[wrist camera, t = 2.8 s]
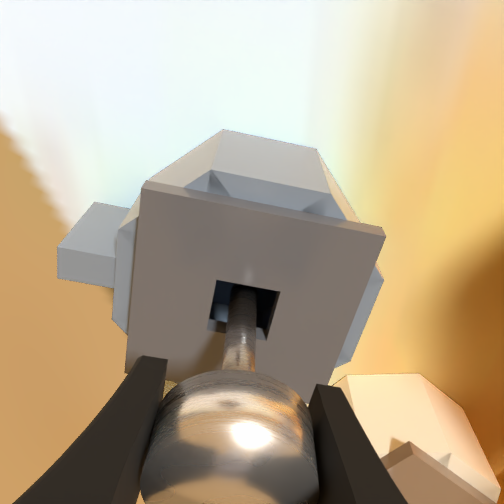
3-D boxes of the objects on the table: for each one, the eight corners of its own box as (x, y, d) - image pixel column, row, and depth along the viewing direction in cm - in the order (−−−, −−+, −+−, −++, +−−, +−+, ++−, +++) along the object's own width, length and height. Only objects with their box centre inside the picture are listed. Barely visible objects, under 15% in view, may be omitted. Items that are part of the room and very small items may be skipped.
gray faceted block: (379, 162, 17) (419, 219, 13) (319, 334, 21) (332, 422, 17) (103, 103, 16) (44, 143, 12) (95, 294, 20) (49, 375, 16)
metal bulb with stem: (309, 257, 15) (342, 448, 8) (283, 342, 16) (294, 553, 10) (198, 236, 14) (147, 418, 8) (183, 324, 16) (133, 530, 10)
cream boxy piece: (264, 434, 25) (264, 529, 20) (385, 346, 21) (416, 436, 17) (389, 513, 28) (412, 609, 23) (511, 446, 25) (564, 543, 20)
